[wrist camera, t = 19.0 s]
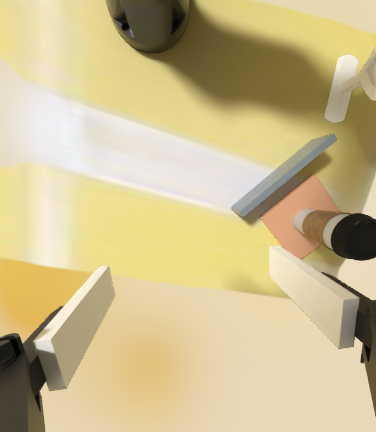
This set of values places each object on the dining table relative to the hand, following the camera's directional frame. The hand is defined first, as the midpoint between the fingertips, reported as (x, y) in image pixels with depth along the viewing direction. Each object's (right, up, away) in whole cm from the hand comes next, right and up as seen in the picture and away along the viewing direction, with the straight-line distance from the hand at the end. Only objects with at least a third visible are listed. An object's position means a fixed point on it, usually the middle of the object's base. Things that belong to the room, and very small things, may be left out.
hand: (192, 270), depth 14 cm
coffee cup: (+29, +3, +30) cm, 41 cm away
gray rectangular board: (+20, +14, +28) cm, 37 cm away
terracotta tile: (+29, +3, +30) cm, 42 cm away
